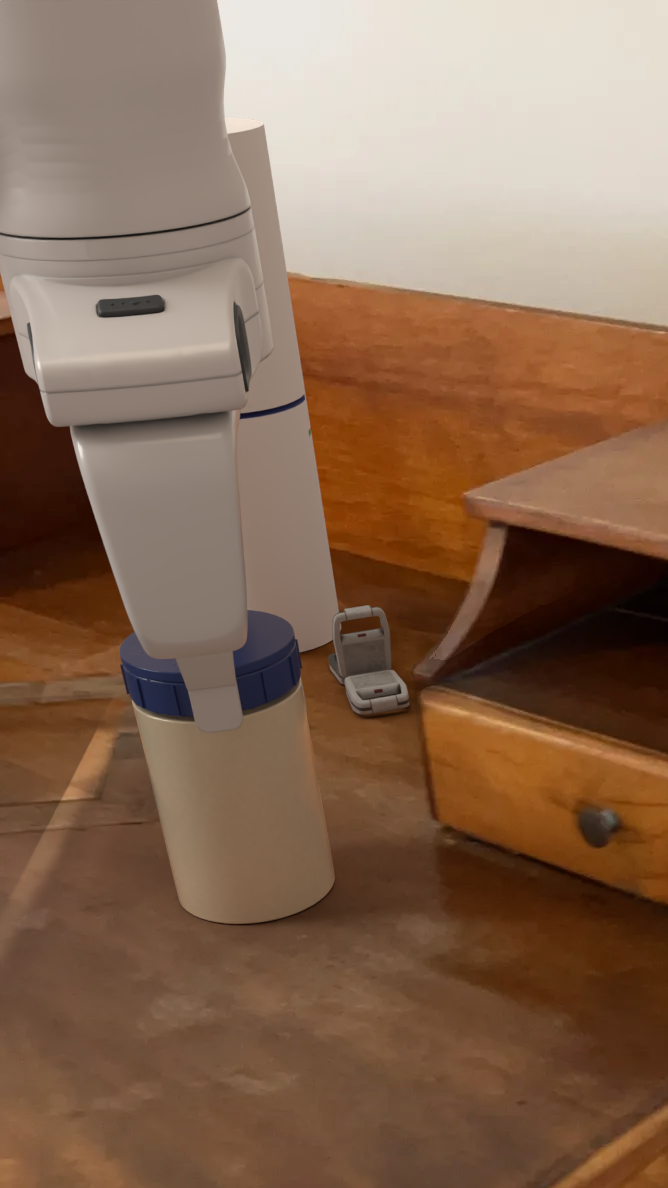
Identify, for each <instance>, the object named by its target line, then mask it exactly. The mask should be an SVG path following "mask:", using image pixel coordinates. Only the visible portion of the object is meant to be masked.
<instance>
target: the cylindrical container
mask: <svg viewBox="0 0 668 1188" xmlns="http://www.w3.org/2000/svg"><path fill="white" fill-rule="evenodd" d="M225 123H226V129H227V135H228V139H229V142H230V146H231V149H232V153H233V155H234V158H235V160H236V162H237V165H238V167H239V169H240V172H241V174H242V176H243V179H244V182H245V184H246V187H247V190H248V194H249V198H250V203H251V210H252V216H253V222H254V226H255V232H256V239H257V245H258V251H259V257H260V263H261V269H262V275H263V282H264V288H265V294H266V300H267V306H268V312H269V318H270V324H271V330H272V336H273V342H274V348H273V351H272V353H271V354H270V355H269V356H268V357H267V358H266V359H264V360H263V361H262V362H260V363H259V365H258V368H257V370H256V371H255V373H254V375H253V377H252V378H251V380H250V382H249V391H248V392H247V394H248V402H247V404H246V406H245V407H244V408H243V409H241V412H240V420H239V426H238V433H237V466H238V483H239V497H240V510H241V523H242V536H243V549H244V563H245V576H246V592H247V610H253V611H261V612H266V613H270V614H273V615H276V616H279V617H281V618H283V619H285V620H286V621H288V622H289V623H290V624H291V626H292V627H293V629H294V634H295V639H297V641H298V646H299V652H300V653H303V652H307V651H310V650H315V649H316V648H319V647H322V646H325V645H326V644H328V643H330V642H333V638H332V620H333V617H334V616H335V614H337V613H339V612H340V609H339V603H338V597H337V591H336V583H335V578H334V572H333V570H334V569H333V565H332V564H333V563H332V557H331V552H330V551H331V550H330V544H329V538H328V531H327V524H326V519H325V512H324V511H325V510H324V506H323V499H322V493H321V486H320V485H321V484H320V479H319V473H318V465H317V460H316V453H315V447H314V439H313V434H312V433H313V432H312V430H311V421H310V420H311V419H310V415H309V409H308V408H309V406H308V401H307V395H306V388H305V381H304V375H303V368H302V363H301V362H302V361H301V356H300V349H299V345H298V344H299V343H298V336H297V330H296V323H295V317H294V310H293V304H292V298H291V290H290V286H289V285H290V283H289V278H288V271H287V264H286V259H285V252H284V246H283V239H282V232H281V226H280V220H279V212H278V207H277V201H276V199H277V198H276V194H275V188H274V187H275V186H274V179H273V174H272V167H271V161H270V154H269V148H268V142H267V141H268V140H267V134H266V129H265V123H264V121H262V120H259V119H254V118H246V117H244V118H243V117H225ZM341 631H342V622H341V623H340V632H341Z"/></svg>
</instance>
